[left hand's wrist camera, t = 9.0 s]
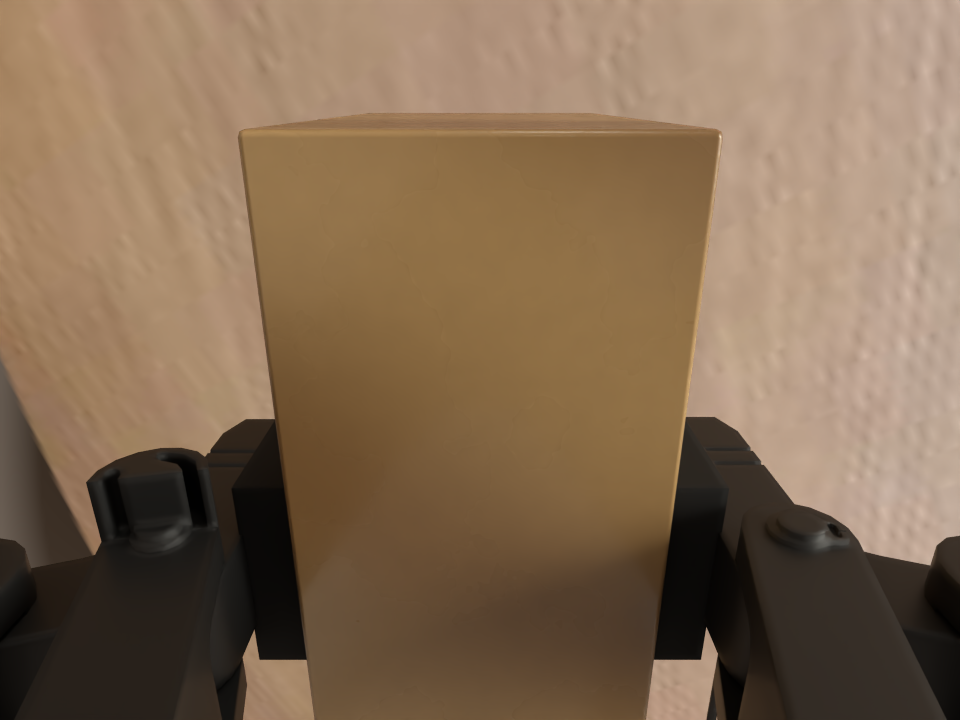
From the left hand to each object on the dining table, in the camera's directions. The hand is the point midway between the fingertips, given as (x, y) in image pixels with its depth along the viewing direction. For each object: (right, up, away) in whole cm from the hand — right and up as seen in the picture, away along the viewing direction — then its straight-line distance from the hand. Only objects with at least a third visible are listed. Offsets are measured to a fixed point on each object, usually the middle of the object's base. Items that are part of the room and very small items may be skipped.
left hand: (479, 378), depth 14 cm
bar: (0, -19, +8) cm, 21 cm away
